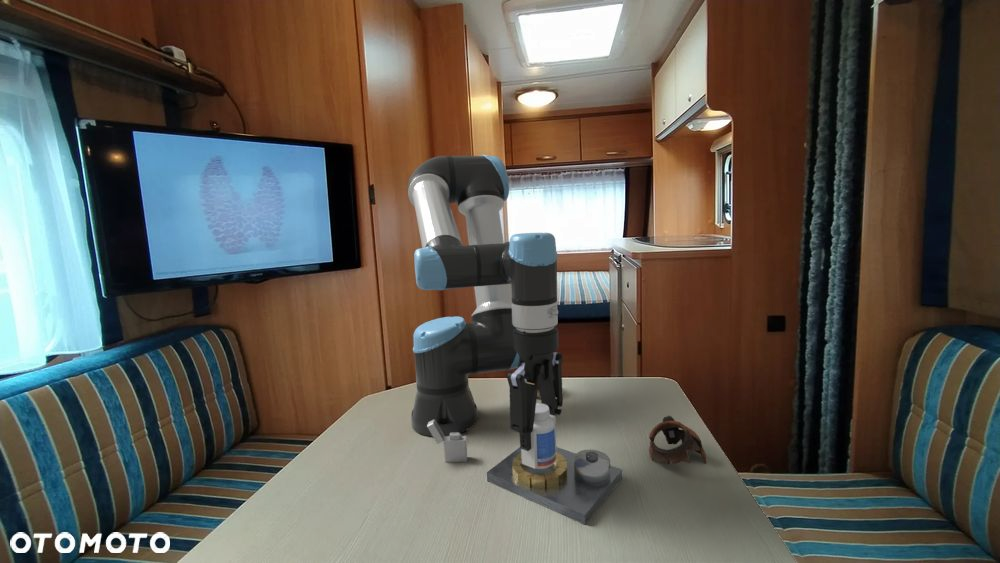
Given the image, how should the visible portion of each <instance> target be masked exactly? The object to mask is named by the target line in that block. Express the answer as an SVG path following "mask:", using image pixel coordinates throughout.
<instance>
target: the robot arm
mask: <svg viewBox="0 0 1000 563" xmlns="http://www.w3.org/2000/svg"><path fill="white" fill-rule="evenodd" d="M509 182H510V181H509V175H508V171H507V168H506V165H505V163H504V162H503V160H502V159H501V158H499V157H498V156H496V155H495V156H494V155H486V154H481V155H439V156H434V157H432V158H430V159H427V160H426V161H424V162H422V163H421V164H420V165H419V166H417V167H416V169H415V170H414V171H413V173H412V174H411V176H410V177H409V180H408V183H407V196H408V200H409V202H410V204H411V205H412V206H413V208H414V209H415V215H416V220H417V226H418V227H417V228H418V231H419V237H420V242H421V243H420V244H421V248H417V249H416V250H415V251H414V254H413V256H414V257H413V258H414V260H413V261H414V274H415V282H416V286H417V288H418V289H420V290H422V291H444V290H454V289H455V290H456V289H462V288H463V289H464V288H474V295H475V304H476V308H475V310H474V311H473V313H471V322H466V320H465V318H463V317H462V316H444V317H439V318H435V319H431V320H430V321H426V322H423V323H422V324H420V325H418V326H417V327H416V328H415V330H414V332H413V335H412V336H413V347H412V351H413V353H414V363H415V364H414V367H415V381H416V394H415V399H414V405H413V409H412V411H411V413H410V420H411V427H412V429H413V430H414V431H415V432H416V433H418V434H420V435H423V436H429V437H433V436H432V434H431V432H430V431H429V429H428V427H427V424H428V422H430V421H432V420H434V419H435V421H436V422H437V424H438V426H439V427H440V429H441V431H442V432H443V434H444V436H445V437H449V435H450V433H458V432H459V433H460V434H461V433H464V432H465V431H468V430H470V429H471V428H472V427H474V426H475V425H476V424H477V423H478V420H479V413H478V412H479V411H478V406H477V404H476V402H475V400H474V396H473V393H472V391H471V388H470V385H469V376H470V375H471V376H472V375H479V374H485V373H494V372H501V371H509V372H507V375H506V379H507V382H508V386H509V424H510V425H509V427H510V430H511V431H513V432H517V433H518V434H519V447H521V457H522V464H524V465H527V466H529V467H532V468H534V469H535V468H537V467H538V464H537V434H536V430H534V429H533V425H534V417H535V408H536V403H537V400H538V397H537V392H538V391H539V393H540V397H539V398H540V402H541V403H542V404H545V405H547V406H548V407H549V412H550V416H549V417H550V418H551V419H552V420H553V422H554V431H555V451H556V447H557V428H556V427H557V423H556V422H557V420H556V419H557V418H556V416H561V414H562V410H563V409H561V408H562V407H563V404H564V400H563V395H564V394H563V375H562V366H563V365H562V364H563V359H564V358H563V356H564V355H563V353H560V352H557V351H558V349H559V348H560V345H559V328H558V327H557V325H558V323H559V322H558V320H559V319H558V315H559V310H558V266H557V265H558V263H557V262H558V261H557V260H558V252H557V245H556V244H557V242H556V237H555V235H554V234H553V233H550V232H523V233H515V234H513V235H511V236H510V238H509V241H505V242H504V236H503V235H504V234H503V228H502V222H501V215H500V212H501V210H502V209H503V207H504V205H505V202H506V201H507V200H508V197H509V194H510V186H509ZM450 204H457V210H458V212H459V213H460V214H462V215H463V216H464V217H465V224H466V232H467V241H468V245H466V244H465V245H463V242H462V239H461V235H460V232H459V229H458V226H457V224H456V220H455V218H454V215H453V214H454V213H453V211H452V208H451V206H450ZM515 369H516V370H515ZM511 370H515V371H514V372H511ZM527 382H529V383H533V384H534V385H533V384H529V383H527Z"/></svg>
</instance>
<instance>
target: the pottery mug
mask: <svg viewBox="0 0 1000 563" xmlns="http://www.w3.org/2000/svg"><path fill="white" fill-rule="evenodd" d="M660 432H662V434H663V435H664V437H665V440H666V442H667V444H668V445H678V443H679V442H680V441H681V443H680V445H678V446H677V447H674V448H671V449H670V448H669V449H664V448H661V447H658V446H657V445H656V444H655V439H656V436H657V434H659V433H660ZM648 438H649V440H650V441H649V449H648V452H649V455H650V459H651V460H652V461H656V462H659V463H662V464H666V465H669V464H677V463H680V462H681V463H682V462H685V463H688V464H689V463H691V461H690V457H689V453H688V451H690V452H694V453H697V454H699V455H700V457H702V458H701V459H702V460H703V463H704V464H706V465H707V454H706V451H705V449H704V447H703V444H702V443H703V442H702V439H701V438H700V437H699V435H698V434H697V433H696V432H695V431H694V430H693V429H692V428H690V427H688V426H686V425H685V424H683V423H682V422H679V421H676V420H675V419H674V417H672V416H671V415H666V416H664V417H663V418H662V421H661V422H659V423H658V424H657V425H655V426H654V427H653V428H652V430H650V433H649V437H648Z"/></svg>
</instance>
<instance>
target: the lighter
mask: <svg viewBox="0 0 1000 563" xmlns="http://www.w3.org/2000/svg"><path fill="white" fill-rule="evenodd" d="M427 427H428V429H429V431H430V432H431V434H432V436H431V437H433V439H434V440H435V442H436V444H439V443H442V442H443V451H444V453H443V454H444V462H445V463H460V462H461V463H463V462H467V461H468V446H467V443H468V442H467V436H466V435H462V434H461V433H459V432H458V433H450V435H449V436H444V434H443V432H442V431H441V429H440V427H439V426H438V424H437V422H436V421H435V419H434V420H432V421H430V422H428V424H427Z"/></svg>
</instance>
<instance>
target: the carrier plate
mask: <svg viewBox="0 0 1000 563" xmlns="http://www.w3.org/2000/svg"><path fill="white" fill-rule="evenodd" d="M555 456H556V459H555V463H554V464H553V465H552V466H550V467H548V468H545V469H536V468H535V469H534V468H532V467H529V466H527V465H524V464H522V457H521V447H520V446H519V447H518V448H517V449H515V450H514V451H513V452H511V453H510V454H509V455H507V456H506V457H505V458H503V459H502V460H501V461H499V462H497V464H495V466H493V467H492V468H491V469H489V470H488V471H487V472H486V481H487V482H489V483H492V484H494V485H496V486H498V487H500V488H503V489H505V490H507V491H509V492H512V493H514V494H516V495H517V496H520V497H523V498H524V499H527V500H529V501H531V502H533V503H536V504H538V505H541V506H543V507H545V508H547V509H550V510H551V511H554V512H557V513H558V514H560V515H563V516H564V517H567V518H568V519H569V518H570V519H572V520H574V521H576V522H577V523H578V522H579V523H581V524H583V525H586V524H587V523H588V522H589V521H590V520H591V518H592V516H593V515H594V514H595V513H596V512H597V511H598V509H599V507H601V505H602V504H603V503H604V501H605V500H606V499H607V498H608V497H609V496H610V494H611V493H612V492H613V490H614V489H615V488H616V486H617V485H618V484H619V483H620V482H621V480H622V479H623V468H620V467H616V466H613V465H611V459H610V456H608V454H606V453H604V452H603V451H600V450H596V449H582V450H579V451H577V452H573V451H569V450H567V449H564V448H561V447H558V446H556V451H555Z"/></svg>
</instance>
